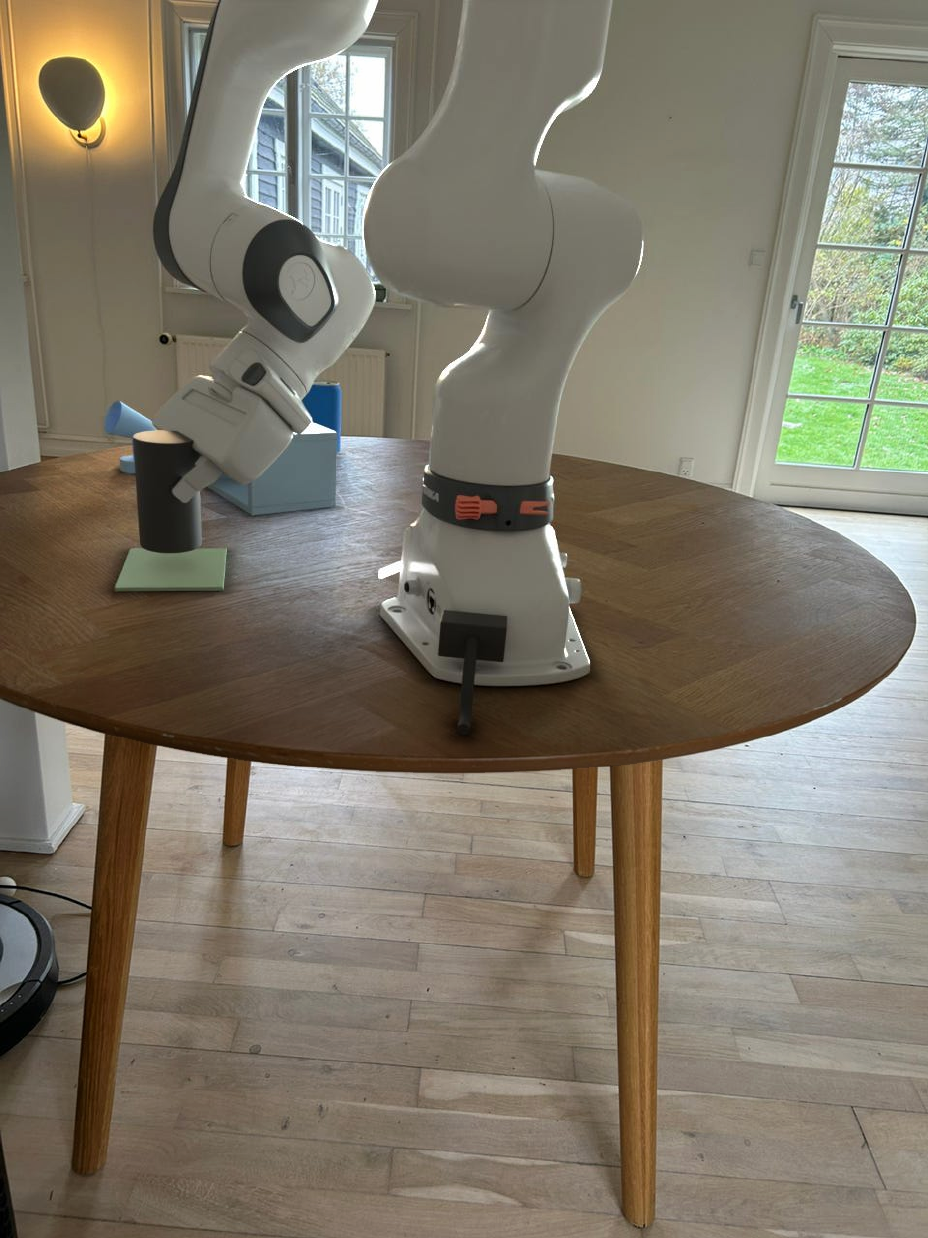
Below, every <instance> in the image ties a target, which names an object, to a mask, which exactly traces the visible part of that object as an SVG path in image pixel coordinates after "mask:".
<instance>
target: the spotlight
mask: <svg viewBox="0 0 928 1238" xmlns="http://www.w3.org/2000/svg"><path fill="white" fill-rule="evenodd" d="M155 430H157V429H156V428H155V427H154V426H153V425H152V420H150V419H149V418H147V417H145V416H144V415H142V414H141V413H139V412H138V411H137V410H135V409H133V408H131V407H129V406H128V405H126V403H123V402H122V401H120V400H115V401H114V402H113V403H112V404H111V405H110V406H109V408H108V409H107V412H106V414H105V418H104V421H103V431H104V432H105V434H107V435H111V436H117V437H122V438H126V439H132V441H131V444H132V447H131V449H132V454H131V455H130V454H129V455H124V456H121V457H119V469H120V472H122V473H127V474H135V462H134V448H133V435H135V434H137V433H140V432H145V431H155Z"/></svg>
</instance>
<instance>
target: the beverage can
mask: <svg viewBox="0 0 928 1238" xmlns="http://www.w3.org/2000/svg"><path fill="white" fill-rule="evenodd" d="M342 391H343V390H342V388H341V387H340V382H339V381H337V380H331V379H323V378H316V379H315V380H314V382H313V384H312V387H311V389H310V391H309V392H308V394H307V395H306V396H305V397H304V398H303V399H302V400H301V401H302V403H303V405H304V406H305V408H306V410H307V411H308V413H309V414H310V416H311V417H312V423H315V424H317V425H320V426H322V427H325V428H328V429H330V430H333V431H335V432H337V454H339V453H340V452H341V441H342V439H341V438H342V437H341V436H342V435H341V434H342V396H343V395H342V393H343V392H342Z"/></svg>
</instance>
